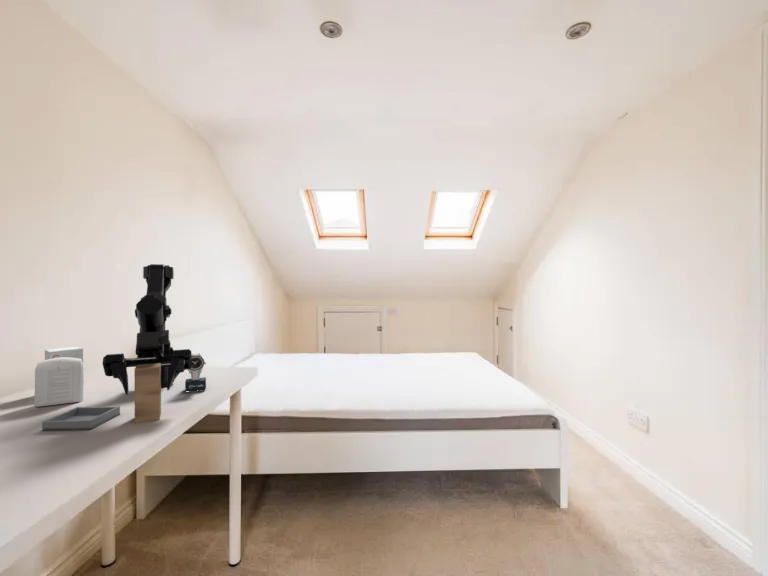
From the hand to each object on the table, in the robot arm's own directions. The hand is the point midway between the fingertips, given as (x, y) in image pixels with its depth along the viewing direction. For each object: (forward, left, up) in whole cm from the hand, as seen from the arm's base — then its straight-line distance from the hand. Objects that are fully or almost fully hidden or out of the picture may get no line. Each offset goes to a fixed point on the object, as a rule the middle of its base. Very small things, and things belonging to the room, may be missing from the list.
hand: (147, 391), depth 92 cm
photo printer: (+9, -33, -7) cm, 35 cm away
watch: (-20, -17, -7) cm, 27 cm away
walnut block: (-1, -1, -7) cm, 7 cm away
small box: (+5, -46, -7) cm, 47 cm away
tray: (+10, -10, -7) cm, 16 cm away
